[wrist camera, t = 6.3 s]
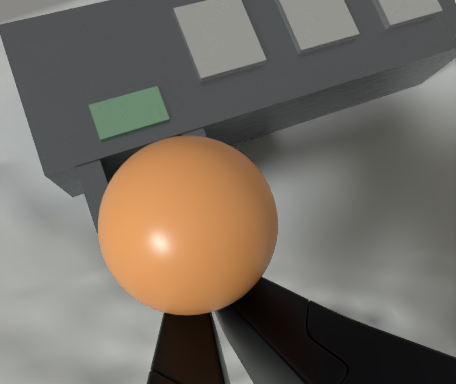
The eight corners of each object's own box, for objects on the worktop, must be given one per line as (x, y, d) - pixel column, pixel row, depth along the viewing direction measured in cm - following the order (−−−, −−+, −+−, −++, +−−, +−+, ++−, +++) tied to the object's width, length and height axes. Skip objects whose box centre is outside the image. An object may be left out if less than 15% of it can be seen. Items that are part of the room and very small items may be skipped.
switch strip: (440, 124, 24) (507, 87, 19) (89, 250, 19) (63, 243, 14) (375, -10, 25) (422, -75, 20) (33, 77, 21) (-7, 19, 16)
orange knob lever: (203, 226, 18) (334, 294, 6) (139, 249, 18) (131, 382, 5) (182, 163, 18) (269, 92, 6) (116, 184, 17) (49, 159, 5)
